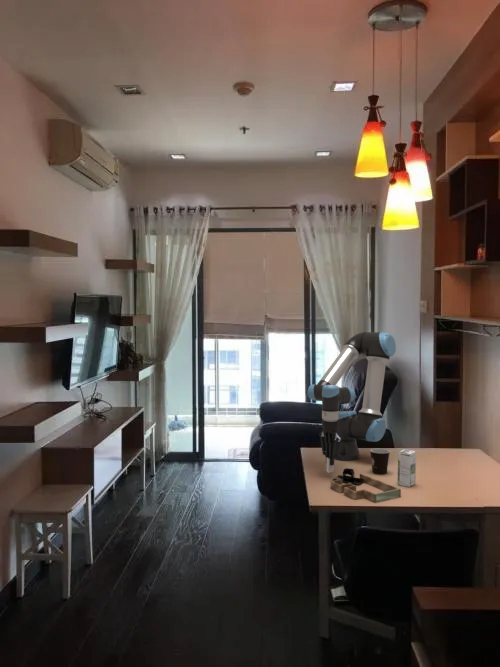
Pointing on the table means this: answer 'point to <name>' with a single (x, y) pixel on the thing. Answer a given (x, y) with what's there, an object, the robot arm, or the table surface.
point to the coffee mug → (379, 460)
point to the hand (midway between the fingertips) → (329, 471)
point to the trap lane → (352, 493)
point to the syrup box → (406, 468)
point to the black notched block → (349, 477)
